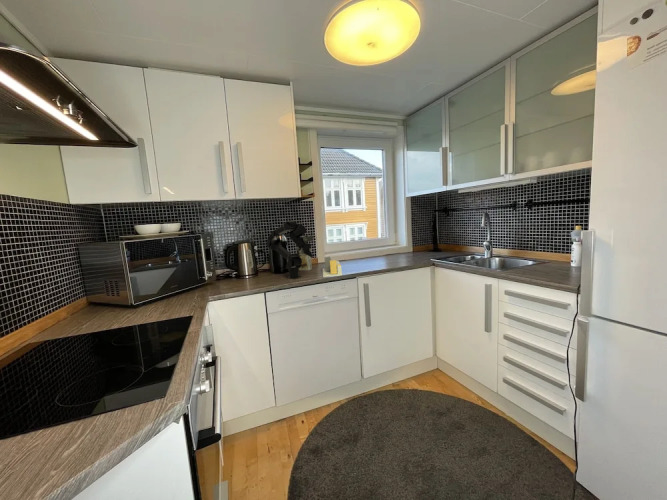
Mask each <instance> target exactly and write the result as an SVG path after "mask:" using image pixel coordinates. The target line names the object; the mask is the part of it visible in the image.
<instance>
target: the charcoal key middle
mask: <svg viewBox="0 0 667 500" xmlns="http://www.w3.org/2000/svg"><path fill="white" fill-rule="evenodd" d="M331 259H332V258H331V257H330V259H325V258H324V267H325V269H326V272H328V271H330V260H331Z"/></svg>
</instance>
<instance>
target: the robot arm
mask: <svg viewBox="0 0 667 500" xmlns="http://www.w3.org/2000/svg"><path fill="white" fill-rule="evenodd" d="M282 234H285V237H286V238H288V237H289V238H290V239H291V241H292V242H293V244H294V245H295V246H296V251H297V250H298V251H300V250H302V251H301V252H302V253H304V254H306V255H308V256H310V257H311V258H313V257H314V255H313V254H312V251H311V252H310V249H311V247H312V244H311V243H308V242H311V241H314V238H313V236H312V234H311V235H307V228H306V227H305V225H304V224H303V223H299V224H298V223H297V222H296V221H295V220H287V221H285V222H284V223H283V225H281V226H279V227H278V228H276V229H273V230H272V231H271V232H270V235H269V236H268V237H267V241H266V246H267V248H268V249H269V250H273V251H275V252H277V253H278V254H279V255H281V256H282V257H283V258H284V259H285V260H286V265H285V269H286V270H288V272H289V274H288V277H287V279H298V278H301V277H302V275H300V270H299V267H301V263H302V260H301V258H300V256H298V255H297V253H291V252H290V251H288V249H286V248H285V247H283V246H282V245H281V237H280V235H282ZM303 236H304V237H303ZM275 237H276V239H274V238H275Z"/></svg>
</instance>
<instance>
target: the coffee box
mask: <svg viewBox="0 0 667 500" xmlns="http://www.w3.org/2000/svg"><path fill="white" fill-rule="evenodd" d="M311 250H312V249H311V248H310V252H311V253H312V251H311ZM301 251H302V250H300V251H298V250H297V249H296V254H297V255H298V256H300V258H301V260H302V263H301V267H299V271H310V270H312V269H313V268H312V267H313V266H312V257H310V256H308V255H306V254H304V253H302V252H301Z"/></svg>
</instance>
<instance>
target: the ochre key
mask: <svg viewBox="0 0 667 500" xmlns="http://www.w3.org/2000/svg"><path fill="white" fill-rule="evenodd" d="M336 261H337V260H336V259H332V260H330V272H331V274H337V265H336Z"/></svg>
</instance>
